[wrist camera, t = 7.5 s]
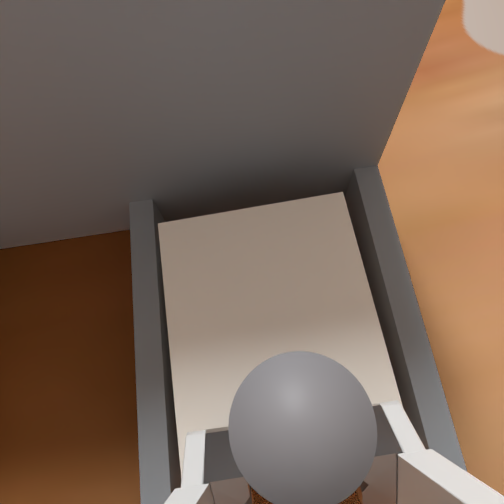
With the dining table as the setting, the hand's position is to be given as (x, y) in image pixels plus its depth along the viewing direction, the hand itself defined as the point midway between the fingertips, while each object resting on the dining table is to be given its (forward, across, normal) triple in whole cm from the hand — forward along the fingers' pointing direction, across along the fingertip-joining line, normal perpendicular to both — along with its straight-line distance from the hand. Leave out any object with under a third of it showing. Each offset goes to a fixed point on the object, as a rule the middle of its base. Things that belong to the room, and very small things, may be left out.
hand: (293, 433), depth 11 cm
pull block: (+6, 0, +2) cm, 7 cm away
